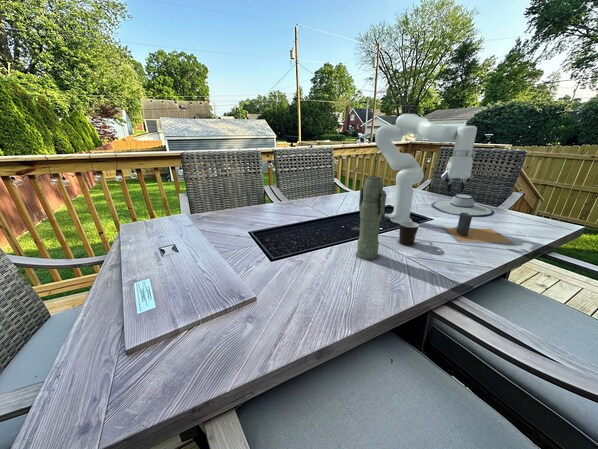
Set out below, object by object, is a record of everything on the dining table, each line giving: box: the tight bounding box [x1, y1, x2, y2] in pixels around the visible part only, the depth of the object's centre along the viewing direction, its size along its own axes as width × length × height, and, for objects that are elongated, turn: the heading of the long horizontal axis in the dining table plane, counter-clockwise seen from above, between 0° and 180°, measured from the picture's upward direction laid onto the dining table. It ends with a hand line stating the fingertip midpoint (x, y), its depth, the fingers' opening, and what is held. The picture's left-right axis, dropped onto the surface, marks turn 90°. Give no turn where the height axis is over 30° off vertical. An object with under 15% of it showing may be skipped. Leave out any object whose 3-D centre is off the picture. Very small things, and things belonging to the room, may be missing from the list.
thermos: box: [356, 175, 387, 261], centre depth 105 cm, size 9×12×35 cm
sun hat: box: [431, 193, 494, 217], centre depth 172 cm, size 36×36×9 cm
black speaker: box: [456, 213, 473, 236], centre depth 128 cm, size 3×6×11 cm, turn 173°
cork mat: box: [444, 227, 513, 244], centre depth 129 cm, size 24×18×1 cm
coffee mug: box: [398, 221, 420, 247], centre depth 121 cm, size 12×9×10 cm
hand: (454, 191), depth 123 cm, fingers open, 4 cm apart
